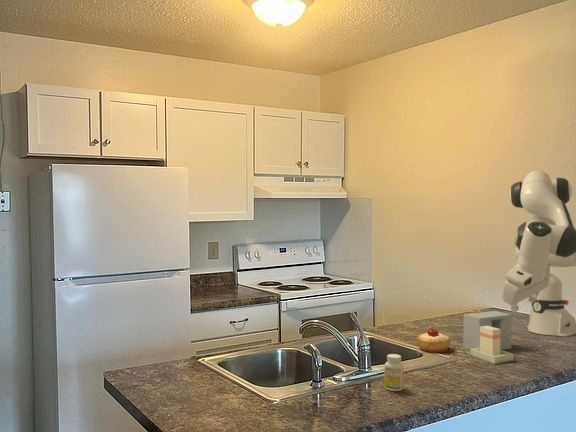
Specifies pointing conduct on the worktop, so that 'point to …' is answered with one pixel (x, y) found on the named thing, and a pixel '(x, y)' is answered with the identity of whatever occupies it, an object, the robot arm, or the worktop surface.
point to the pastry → (433, 341)
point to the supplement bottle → (394, 373)
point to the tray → (492, 359)
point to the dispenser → (486, 319)
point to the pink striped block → (490, 340)
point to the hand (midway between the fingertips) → (523, 306)
